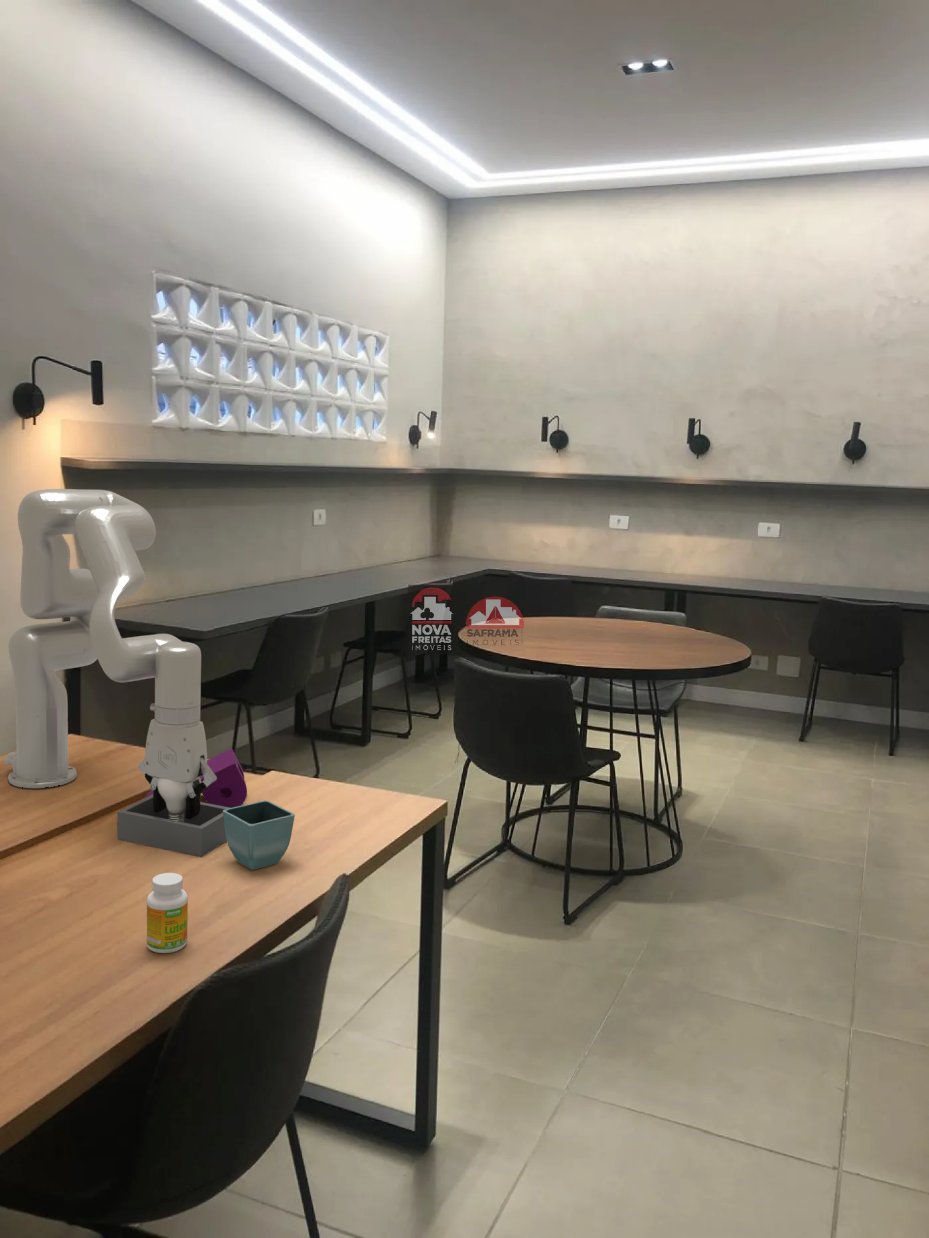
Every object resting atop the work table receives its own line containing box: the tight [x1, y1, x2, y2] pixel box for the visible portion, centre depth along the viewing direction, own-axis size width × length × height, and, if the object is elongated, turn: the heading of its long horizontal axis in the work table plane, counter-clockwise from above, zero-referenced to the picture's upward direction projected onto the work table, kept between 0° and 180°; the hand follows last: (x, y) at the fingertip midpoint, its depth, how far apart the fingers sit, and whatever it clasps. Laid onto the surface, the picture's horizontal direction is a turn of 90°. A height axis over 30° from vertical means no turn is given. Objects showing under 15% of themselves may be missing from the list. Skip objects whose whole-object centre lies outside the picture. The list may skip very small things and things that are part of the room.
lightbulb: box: [157, 778, 195, 823], centre depth 170 cm, size 6×6×11 cm
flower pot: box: [223, 800, 296, 871], centre depth 162 cm, size 9×9×9 cm
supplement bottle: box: [146, 872, 189, 954], centre depth 134 cm, size 5×5×10 cm
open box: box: [116, 794, 229, 858], centre depth 171 cm, size 17×10×5 cm, turn 71°
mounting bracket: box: [144, 748, 248, 808], centre depth 188 cm, size 10×8×18 cm
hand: (176, 812), depth 171 cm, fingers closed on lightbulb, 5 cm apart
